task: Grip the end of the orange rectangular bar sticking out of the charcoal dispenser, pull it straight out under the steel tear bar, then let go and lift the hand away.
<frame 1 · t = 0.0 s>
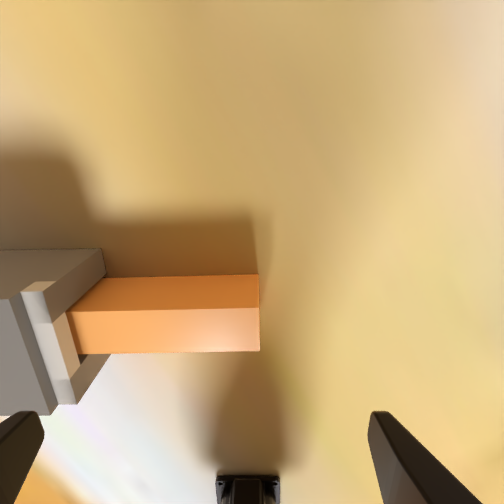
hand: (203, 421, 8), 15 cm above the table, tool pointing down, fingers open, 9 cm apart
orange rectangular bar: (132, 294, 24), on the table
dispenser: (48, 297, 24), on the table
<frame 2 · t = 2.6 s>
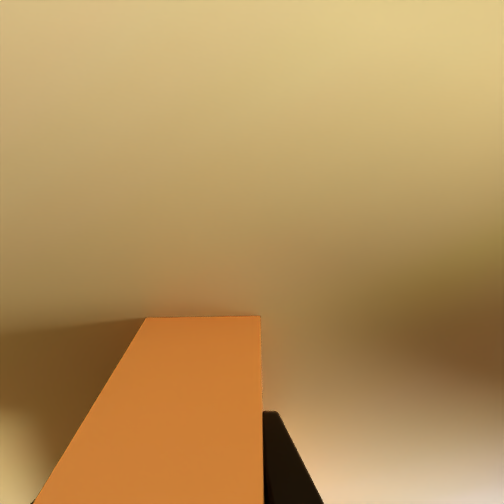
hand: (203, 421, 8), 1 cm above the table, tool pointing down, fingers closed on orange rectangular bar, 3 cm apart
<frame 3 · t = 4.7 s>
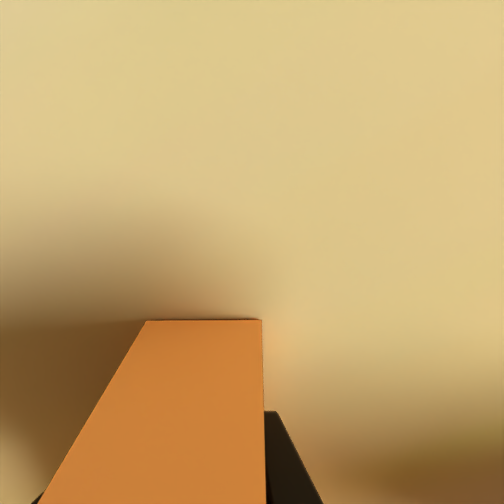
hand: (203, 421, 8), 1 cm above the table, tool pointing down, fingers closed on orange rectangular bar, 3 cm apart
when the fingers open (1 cm above the table, at t = 6.8 s): orange rectangular bar stays where it is, on the table.
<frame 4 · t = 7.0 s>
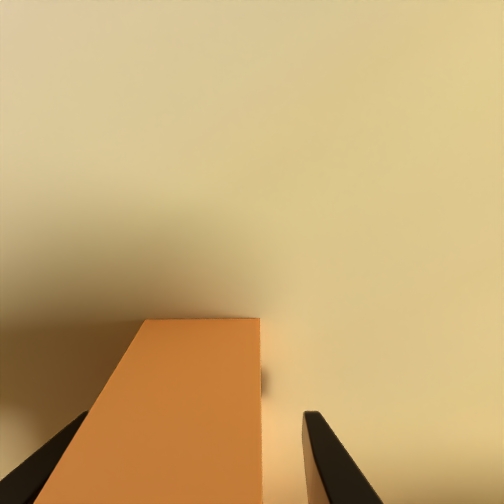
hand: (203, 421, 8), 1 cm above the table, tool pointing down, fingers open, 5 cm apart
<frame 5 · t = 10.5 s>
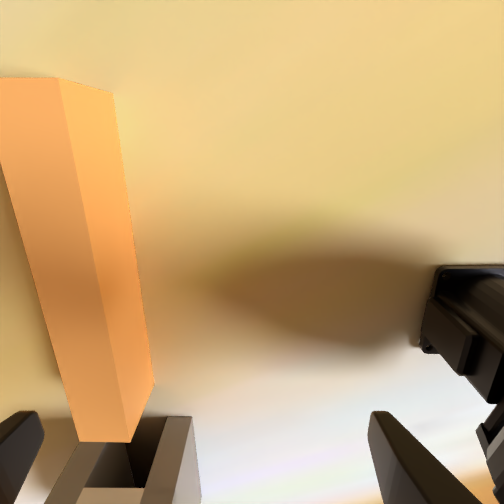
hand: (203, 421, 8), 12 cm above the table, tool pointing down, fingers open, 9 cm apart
orange rectangular bar: (114, 263, 20), on the table
dispenser: (151, 459, 26), on the table
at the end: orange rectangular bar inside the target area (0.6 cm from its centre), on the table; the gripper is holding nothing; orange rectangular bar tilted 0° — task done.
